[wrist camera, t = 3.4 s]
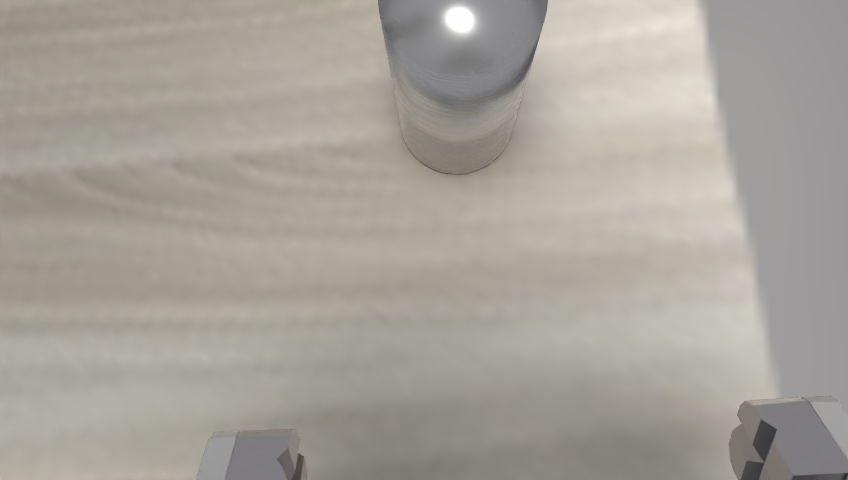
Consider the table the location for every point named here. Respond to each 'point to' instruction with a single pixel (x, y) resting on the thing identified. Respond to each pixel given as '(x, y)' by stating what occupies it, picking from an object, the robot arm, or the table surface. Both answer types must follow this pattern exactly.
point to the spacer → (459, 74)
